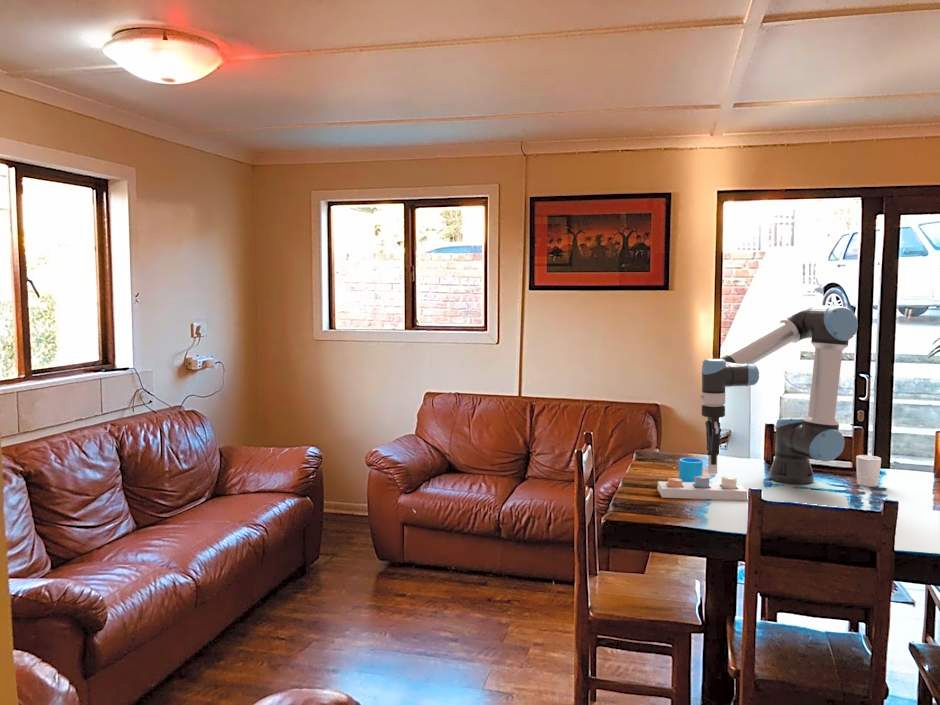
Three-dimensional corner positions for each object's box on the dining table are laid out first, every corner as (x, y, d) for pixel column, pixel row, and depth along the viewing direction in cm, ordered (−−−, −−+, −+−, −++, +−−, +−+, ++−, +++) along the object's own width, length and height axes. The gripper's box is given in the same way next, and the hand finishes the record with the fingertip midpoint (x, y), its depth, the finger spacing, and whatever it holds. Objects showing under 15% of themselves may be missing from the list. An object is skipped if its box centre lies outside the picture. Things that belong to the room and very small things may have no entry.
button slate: (707, 487, 253) (707, 476, 253) (710, 491, 248) (710, 479, 248) (693, 487, 253) (693, 475, 253) (695, 490, 249) (696, 479, 248)
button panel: (739, 492, 255) (740, 483, 254) (747, 500, 245) (748, 491, 244) (657, 489, 257) (657, 481, 257) (662, 497, 247) (662, 488, 247)
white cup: (878, 483, 268) (880, 456, 267) (880, 488, 260) (882, 460, 260) (854, 480, 271) (855, 454, 270) (855, 485, 264) (857, 458, 263)
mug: (706, 484, 265) (707, 462, 264) (686, 485, 263) (686, 463, 262) (688, 476, 277) (689, 455, 276) (669, 477, 275) (669, 456, 274)
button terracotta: (680, 489, 254) (680, 478, 254) (683, 493, 249) (683, 481, 249) (666, 489, 254) (666, 477, 254) (668, 492, 250) (669, 481, 249)
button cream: (734, 488, 252) (734, 476, 252) (737, 491, 247) (738, 480, 247) (719, 487, 253) (720, 476, 252) (723, 491, 248) (723, 479, 247)
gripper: (698, 401, 255) (697, 468, 257) (705, 407, 242) (705, 477, 244) (720, 401, 254) (719, 468, 256) (729, 407, 241) (728, 478, 243)
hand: (712, 473), depth 250 cm, fingers closed
